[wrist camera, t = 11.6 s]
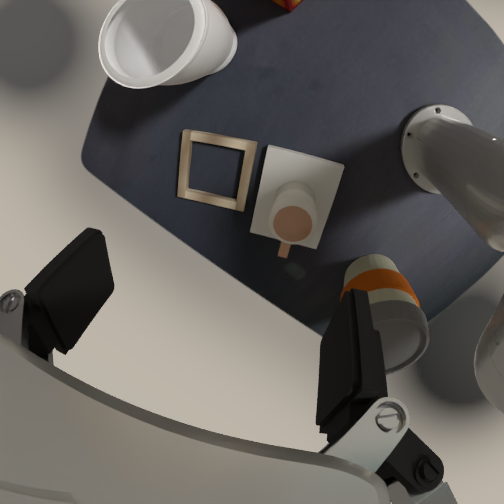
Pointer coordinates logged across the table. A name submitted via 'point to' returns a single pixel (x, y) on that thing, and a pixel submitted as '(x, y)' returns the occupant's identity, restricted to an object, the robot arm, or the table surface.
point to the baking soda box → (288, 4)
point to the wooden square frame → (223, 141)
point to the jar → (165, 42)
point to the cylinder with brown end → (293, 215)
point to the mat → (302, 170)
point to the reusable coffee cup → (390, 310)
